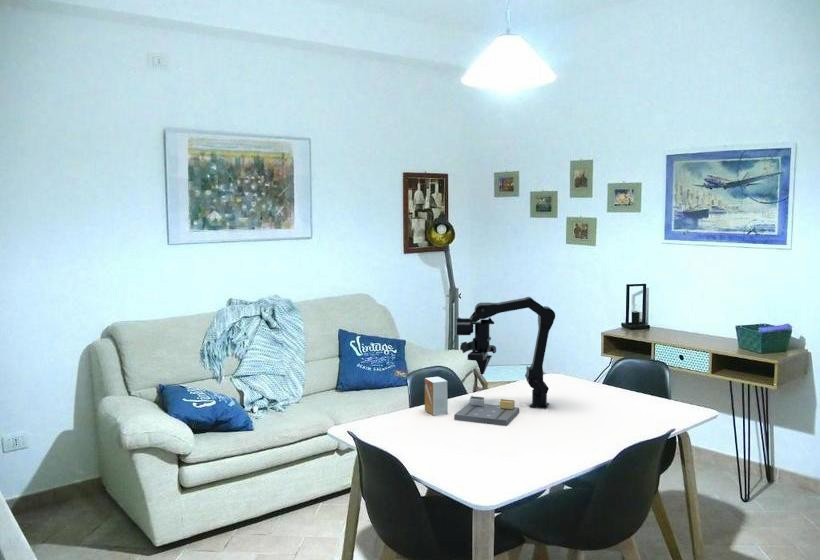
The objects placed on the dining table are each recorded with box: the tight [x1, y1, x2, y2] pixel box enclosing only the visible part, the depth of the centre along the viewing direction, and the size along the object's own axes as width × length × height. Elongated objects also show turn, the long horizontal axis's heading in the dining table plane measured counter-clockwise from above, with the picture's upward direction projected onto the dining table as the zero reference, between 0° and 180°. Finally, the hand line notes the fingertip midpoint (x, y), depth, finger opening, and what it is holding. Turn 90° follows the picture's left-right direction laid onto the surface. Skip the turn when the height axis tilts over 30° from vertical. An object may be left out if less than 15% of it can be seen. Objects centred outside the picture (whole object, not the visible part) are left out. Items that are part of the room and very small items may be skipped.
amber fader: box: [499, 398, 516, 409], centre depth 277 cm, size 3×5×3 cm, turn 67°
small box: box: [424, 376, 449, 416], centre depth 279 cm, size 8×6×13 cm
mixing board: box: [453, 402, 520, 427], centre depth 274 cm, size 18×20×2 cm
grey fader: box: [469, 395, 485, 406], centre depth 281 cm, size 3×5×3 cm, turn 67°
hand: (482, 374), depth 286 cm, fingers closed
